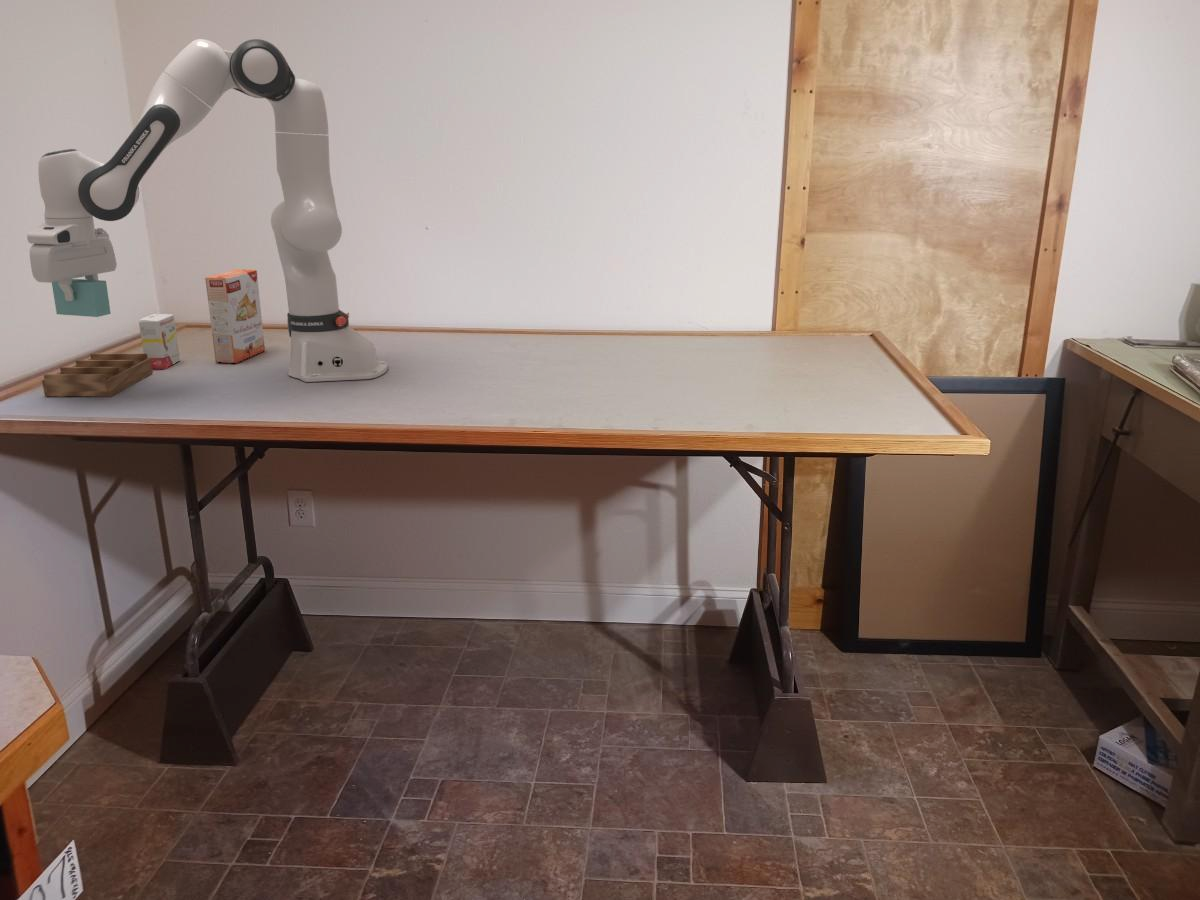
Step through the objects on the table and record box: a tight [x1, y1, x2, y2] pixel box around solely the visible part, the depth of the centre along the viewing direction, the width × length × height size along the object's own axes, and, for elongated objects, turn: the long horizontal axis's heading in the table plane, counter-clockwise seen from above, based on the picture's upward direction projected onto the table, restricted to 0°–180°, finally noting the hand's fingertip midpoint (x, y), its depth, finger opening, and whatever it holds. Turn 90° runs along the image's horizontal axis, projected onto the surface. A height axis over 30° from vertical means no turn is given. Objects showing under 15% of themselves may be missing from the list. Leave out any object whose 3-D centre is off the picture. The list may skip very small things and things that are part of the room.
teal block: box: [51, 278, 111, 318], centre depth 205 cm, size 4×10×7 cm, turn 76°
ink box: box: [138, 313, 181, 370], centre depth 232 cm, size 9×5×12 cm, turn 177°
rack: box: [41, 352, 154, 398], centre depth 216 cm, size 14×20×5 cm
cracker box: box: [204, 268, 266, 364], centre depth 238 cm, size 14×6×21 cm, turn 168°
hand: (81, 298), depth 205 cm, fingers closed on teal block, 4 cm apart
